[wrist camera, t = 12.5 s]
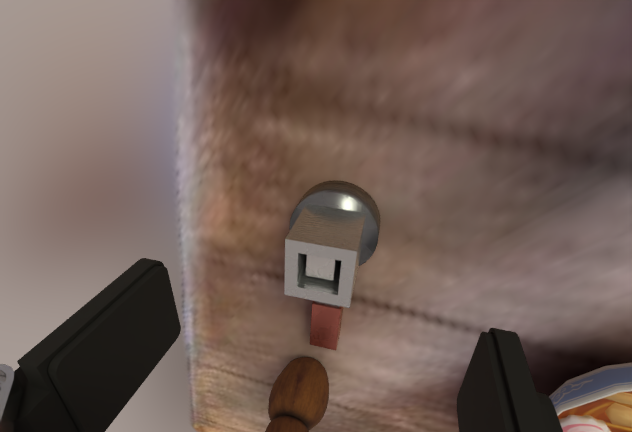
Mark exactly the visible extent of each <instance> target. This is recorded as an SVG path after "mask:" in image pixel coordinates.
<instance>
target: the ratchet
mask: <svg viewBox="0 0 632 432" xmlns="http://www.w3.org/2000/svg"><path fill="white" fill-rule="evenodd" d="M306 204H312V205H318V206H325V207H331V208H338V209H344V210H351V211H357V212H364V213H366V218H365V225H364V232H363V239H362V246H361V253H360V261H359V266H360V265H362V264H363V263H365V262H366V261H367V260H368V259H369V258H370V257H371V256H372V254H373V253H374V251H375V249H376V246H377V242H378V235H379V228H380V214H379V210H378V208H377V205H376V204H375V202H374V200H373V199H372V198H371V196H370V195H369V194H368V193H367V192H365V191H364V190H363V189H361V188H360V187H358V186H356V185H354V184H351V183H348V182H344V181H327V182H323V183H320V184H318V185H316V186H314V187H312V188H311V189H310V190H309V191H308V192H307V193H306V194H305V195H304V196H303V198H302V199H301V201H300V203H299V204H298V206H297V207H296V209H295V210H294V212H293V214H292V217H291V220H290V230H291V228H292V227H293V225H294V224H295V222H296V220H297V219H298V217H299V215H300V214H301V212H302V210H303V209H304V207H305V205H306ZM338 263H339V260H334V259H329V258H323V257H318V256H312V255H307V261H306V275H307V276H312V277H317V278H322V279H327V280H332V281H333V280H334V276H335V273H336V270H337V266H338ZM342 312H343V307H342V306H337V305H333V304H328V303H323V302H318V301H313V303H312V317H311V332H310V344H311V345H315V346H319V347H324V348H328V349H332V350H336V348H337V344H338V339H339V335H340V328H341V320H342Z"/></svg>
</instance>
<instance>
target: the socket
mask: <svg viewBox="0 0 632 432" xmlns="http://www.w3.org/2000/svg"><path fill="white" fill-rule="evenodd" d="M365 218H366V213H364V212H357V211H351V210H344V209H338V208H331V207H325V206H318V205H312V204H306V205H305V207H304V209H303V210H302V212H301V214H300V215H299V217H298V219H297V220H296V222H295V224H294V225H293V227H292V228H291V230H290V232H289V233H288V235H287V237H286V238H285V293H284V295H289V296H294V297H299V298H304V299H308V300H313V301H318V302H323V303H328V304H333V305H337V306H342V307H347V308H350V303H351V299H352V294H353V289H354V285H355V280H356V275H357V271H358V266H359V261H360V253H361V246H362V239H363V232H364V225H365ZM307 255H312V256H318V257H323V258H329V259H334V260H339V263H338V266H337V270H336V273H335V276H334V280H333V281H332V280H327V279H322V278H317V277H312V276H307V275H306V261H307Z"/></svg>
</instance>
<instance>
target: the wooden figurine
mask: <svg viewBox="0 0 632 432" xmlns="http://www.w3.org/2000/svg"><path fill="white" fill-rule="evenodd" d="M328 399H329V382H328V376H327V373H326V370H325V369H324V367H323V366H322V365H321V363H320V362H319V361H317V360H315V359H313V358H309V357H301V358H297V359H294V360H293V361H291V362H290V363H289V364H288V365H287V366H286V368H285V369H284V370H283V371H282V373H281V374H280V375H279V376H278V378H277V380H276V381H275V383H274V385H273V388H272V390H271V394H270V398H269V409H268V413H269V417H270V420H271V422H270V423H269V425H268V427H267V429H266V431H265V432H309V430H310V429H312V428H313V427H314V426H316V425H317V424H318V423H319V422H320V420H321V419H322V418H323V416H324V413H325V411H326V408H327V404H328Z"/></svg>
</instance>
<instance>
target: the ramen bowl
mask: <svg viewBox="0 0 632 432" xmlns="http://www.w3.org/2000/svg"><path fill="white" fill-rule="evenodd" d="M549 398H550V399H551V401H552V403H553V405H554V407H555V410H556V413H557V416H558V419H559V421H560V424H561V427H562V430H563V432H632V363H624V364H616V365H608V366H604V367H601V368H598V369H596V370H593V371H590V372H588V373H585V374H583V375H580V376H577V377H575V378H572V379H569V380H567V381H566V382H565V383H564V384H562V385H561V386H560V387H559V388H558V389H557V390H556V391H555V392H553V393H552V394H551V395H550V396H549Z"/></svg>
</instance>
